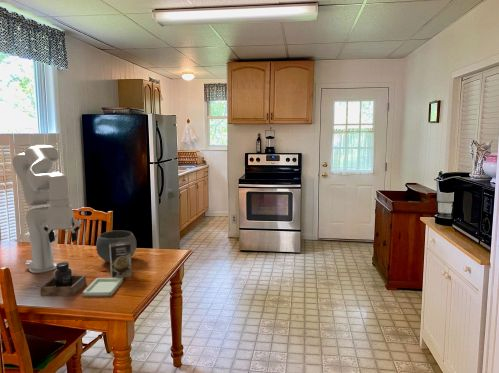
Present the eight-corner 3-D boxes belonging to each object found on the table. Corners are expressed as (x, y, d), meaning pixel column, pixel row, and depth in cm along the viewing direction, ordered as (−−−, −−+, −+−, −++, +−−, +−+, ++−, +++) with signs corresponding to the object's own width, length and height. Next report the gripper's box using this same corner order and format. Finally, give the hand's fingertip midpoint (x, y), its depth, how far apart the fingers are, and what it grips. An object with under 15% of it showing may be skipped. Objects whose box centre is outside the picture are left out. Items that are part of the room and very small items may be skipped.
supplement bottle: (75, 286, 174) (73, 260, 172) (69, 292, 167) (67, 266, 165) (59, 287, 173) (57, 261, 171) (53, 293, 166) (51, 267, 164)
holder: (40, 296, 163) (40, 287, 162) (56, 283, 177) (56, 275, 176) (72, 296, 163) (72, 287, 163) (86, 283, 177) (85, 275, 176)
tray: (82, 296, 163) (82, 292, 163) (97, 281, 179) (96, 277, 179) (110, 296, 163) (110, 292, 163) (122, 281, 179) (122, 277, 179)
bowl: (111, 270, 192) (110, 242, 190) (89, 262, 205) (87, 235, 202) (144, 259, 208) (143, 233, 206) (122, 252, 221) (120, 227, 218)
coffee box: (112, 279, 181) (110, 246, 178) (110, 275, 186) (108, 243, 184) (132, 276, 185) (130, 244, 183) (129, 272, 191) (128, 240, 188)
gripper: (35, 204, 162) (38, 244, 164) (75, 204, 162) (78, 243, 164) (44, 201, 169) (48, 239, 172) (83, 201, 169) (86, 238, 171)
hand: (63, 241), depth 168 cm, fingers open, 9 cm apart
